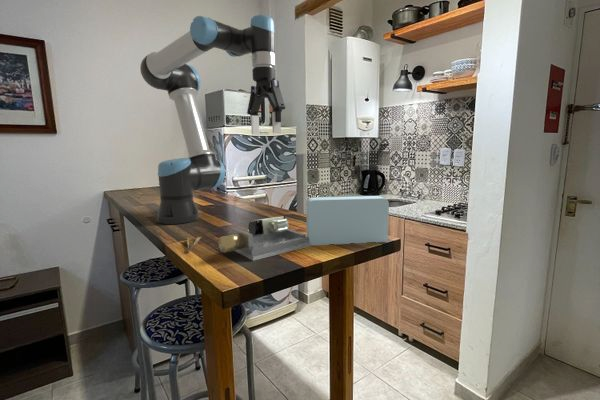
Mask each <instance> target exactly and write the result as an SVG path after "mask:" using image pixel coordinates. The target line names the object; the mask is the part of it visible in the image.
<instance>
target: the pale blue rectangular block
mask: <svg viewBox="0 0 600 400" xmlns="http://www.w3.org/2000/svg"><path fill="white" fill-rule="evenodd" d="M305 206H306V209H305V211H306V214H305V215H306V236H307V237H309V243H310V246H329V244H334V245H349V244H350V243H355V244H368V243H367V242H376V243H386V242H387V241H388V239H389V215H390V214H389V213H390V212H389V211H390V208H389V207H390V202H389V200H388V199H386V198H385V197H382V196H380V195H365V196H364V195H363V196H361V195H360V196H359V195H358V196H320V197H316V196H315V197H309V198H307V200H306V204H305ZM350 245H351V244H350Z"/></svg>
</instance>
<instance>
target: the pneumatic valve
mask: <svg viewBox="0 0 600 400" xmlns="http://www.w3.org/2000/svg"><path fill="white" fill-rule="evenodd" d="M289 224H290V223H289V221H288V219H287V217H286V216H285V215H283V216H272V217H267V218H266V217H264V218H260V219H253V220H250V221H249V222H248V226H247V227H248V231H249V232H248V233H250V234H253V235H257V234H262V233H267V232H283V231H287V230H288V229H289V226H290V225H289Z"/></svg>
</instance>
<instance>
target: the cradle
mask: <svg viewBox="0 0 600 400" xmlns="http://www.w3.org/2000/svg"><path fill="white" fill-rule="evenodd" d="M309 247H311V245H310V243H309V237H307V233H306V234H305V233H302V232H299V231H296V230H293V229H290V228H288V230H287V231H283V232H267V233H262V234H257V235H253V234H250V233H249V232H248V231H245V230H243V229H240V228H238V227H232V228H231V234H229V235H224V236H220V237H219V238H218V248H219V251H220V252H221V253H222V254H224V253H229V252H236V253H238V254H240V255H241V256H244V257H245V258H247V259H249V260H250V261H258V260H261V259H267V258H270V257H273V256H277V255H282V254H286V253H289V252H293V251H297V250H301V249H306V248H309Z"/></svg>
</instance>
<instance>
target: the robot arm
mask: <svg viewBox="0 0 600 400" xmlns="http://www.w3.org/2000/svg"><path fill="white" fill-rule="evenodd" d="M275 36H276V32H275V23H274V19H273V18H272V17H271V16H268V15H266V14H256V15H254V16H252V18H251V19H250V25H249V27H247V28H243V29H239V28H236V27H233V26H231V25H228V24H226V23H222V22H221V21H217V20H215V19H212V18H211V17H206V16H201V15H197V16H195V17H194V18H193V20H192V22H191V23H190V26H189V30H188V31H187V32H186V33H184V34H183V35H182V36H180V37H178V38H177V39H175V40H173V41H172V42H171V43H169V44H167V45H166V46H165V47H163V48H162V49H160V50H158V52H156V51H153V52H150V53H149V54H146V56H144V57H143V59H142V60H141V62H140V75H141V76H142V79H143V80H144V81H145V83H146V84H147V85H148V86H150V87H152V88H154V89H157V90H161V91H167V94H168V98H169V100H172V101H173V102H174V106H175V109H176V113H177V115H178V120H179V123H180V127H181V130H182V135H183V138H184V141H185V145H186V148H187V149H186V150H187V152H188V157H184V158H183V157H182V158H172V159H168V160H163V161H161V162H159V164H158V166H157V176H158V187H159V196H160V199H159V200H160V201H159V202H160V203H159V207H158V211H157V214H156V221H157V223H158V224H161V225H162V224H164V225H165V224H166V225H176V224H177V225H178V224H186V223H191V222H195V221H197V220H199V218H200V216H199V214H200V213H199V211H198V209H197V206H196V203H195V201H194V196H193V194H194V191H201V190H202V191H203V190H212V189H214V188H215V189H216V188H219V187H221V185H222V184H223V182H224V180H225V178H226V168H225V165H224V163H223V162H222V161H221V160H219V159H217V158H216V154H215V153H214V152H213V151H211V150H210V146H209V142H208V139H207V135H206V132H205V128H204V125H203V121H202V120H203V119H202V118H201V117H202V116H201V114H200V110H199V106H198V102H197V98H196V97H197V95H198V94H199V93H198V92H199V90H200V88H201V85H200V84H201V77H200V74H199V72H198V70H197V69H196V68H195V67H194V66H192V65H190V64H187V63H189V62H191V61H193V60H194V59H196V58H198V57H199V56H201V55H203V54H205V53H207V52H209V51H210V50H212V49H220V50H222V51H225V53H227V54H228V56H230V57H233V58H234V57H235V58H236V57H242V56H244V55H248V54H251V62H252V72H251V73H252V80H253V81H254V82H255V85H250V86H251V87H250V95H249V100H248V106H247V112H246V113H247V115H250V119H251V120H250V123H251V135H257V136H258V135H259V136H260V114H259V111H260V109H261V105H262V103H263V101H264V100H265V99H266V98H267V100H268V102H269V104H270V105H271V108H272V114H271V117H272V118H271V119H272V134H282V127H281V126H282V123H281V122H282V111H283V110H285V109H286V105H285V102H284V99H283V95H282V91H281V88H280V81H279V80H276V54H275V52H276V50H275V39H276V37H275Z"/></svg>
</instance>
